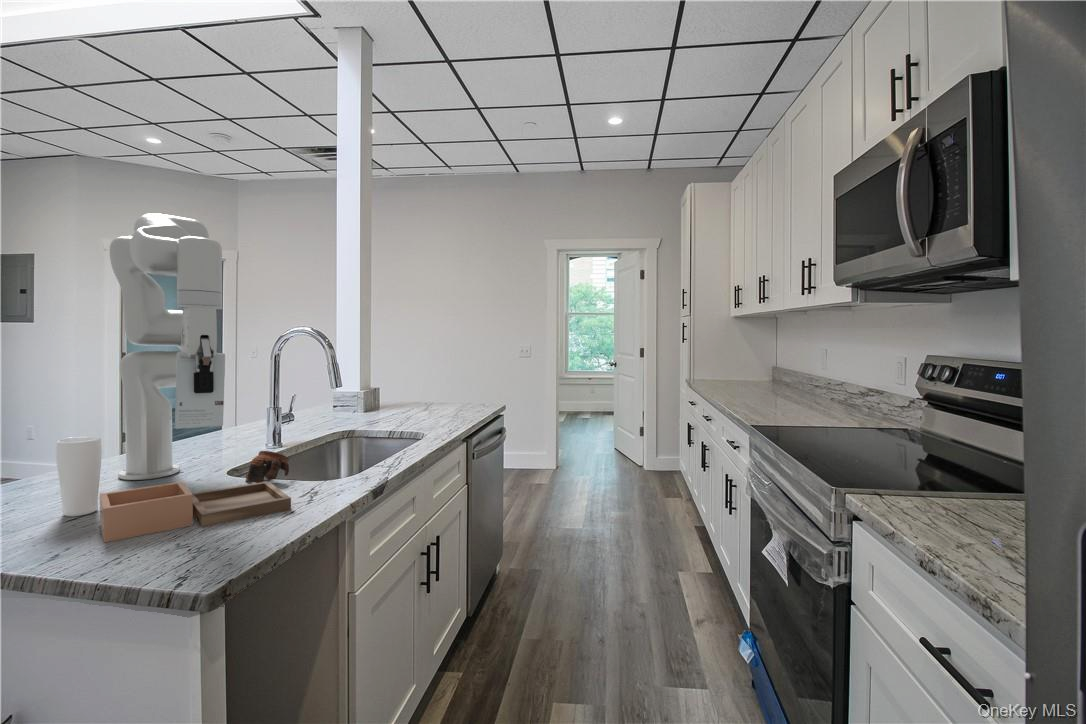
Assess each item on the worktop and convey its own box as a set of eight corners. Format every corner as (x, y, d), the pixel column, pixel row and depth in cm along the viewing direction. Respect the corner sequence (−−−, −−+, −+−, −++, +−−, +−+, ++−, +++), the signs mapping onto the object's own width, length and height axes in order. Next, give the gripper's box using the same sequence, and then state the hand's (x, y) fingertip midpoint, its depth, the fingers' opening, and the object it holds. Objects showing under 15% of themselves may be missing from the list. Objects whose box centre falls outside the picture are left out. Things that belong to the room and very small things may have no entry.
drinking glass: (75, 520, 100) (74, 443, 99) (48, 517, 102) (46, 441, 101) (111, 509, 107) (110, 437, 106) (85, 506, 108) (83, 435, 107)
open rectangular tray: (100, 524, 98) (99, 493, 98) (182, 510, 107) (182, 481, 107) (104, 542, 90) (103, 508, 90) (192, 525, 99) (192, 494, 99)
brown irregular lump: (236, 481, 130) (250, 450, 133) (273, 492, 136) (285, 461, 139) (254, 479, 122) (268, 445, 126) (292, 490, 128) (304, 457, 132)
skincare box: (174, 429, 99) (173, 352, 98) (175, 424, 104) (174, 350, 103) (225, 426, 104) (225, 352, 103) (224, 421, 109) (224, 351, 108)
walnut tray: (186, 505, 110) (186, 494, 110) (268, 491, 121) (268, 481, 121) (201, 527, 98) (201, 514, 98) (291, 509, 109) (291, 498, 109)
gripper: (171, 301, 107) (172, 387, 108) (183, 298, 94) (184, 397, 95) (213, 303, 112) (214, 386, 113) (231, 301, 99) (231, 394, 100)
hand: (200, 390), depth 104 cm, fingers closed on skincare box, 6 cm apart
